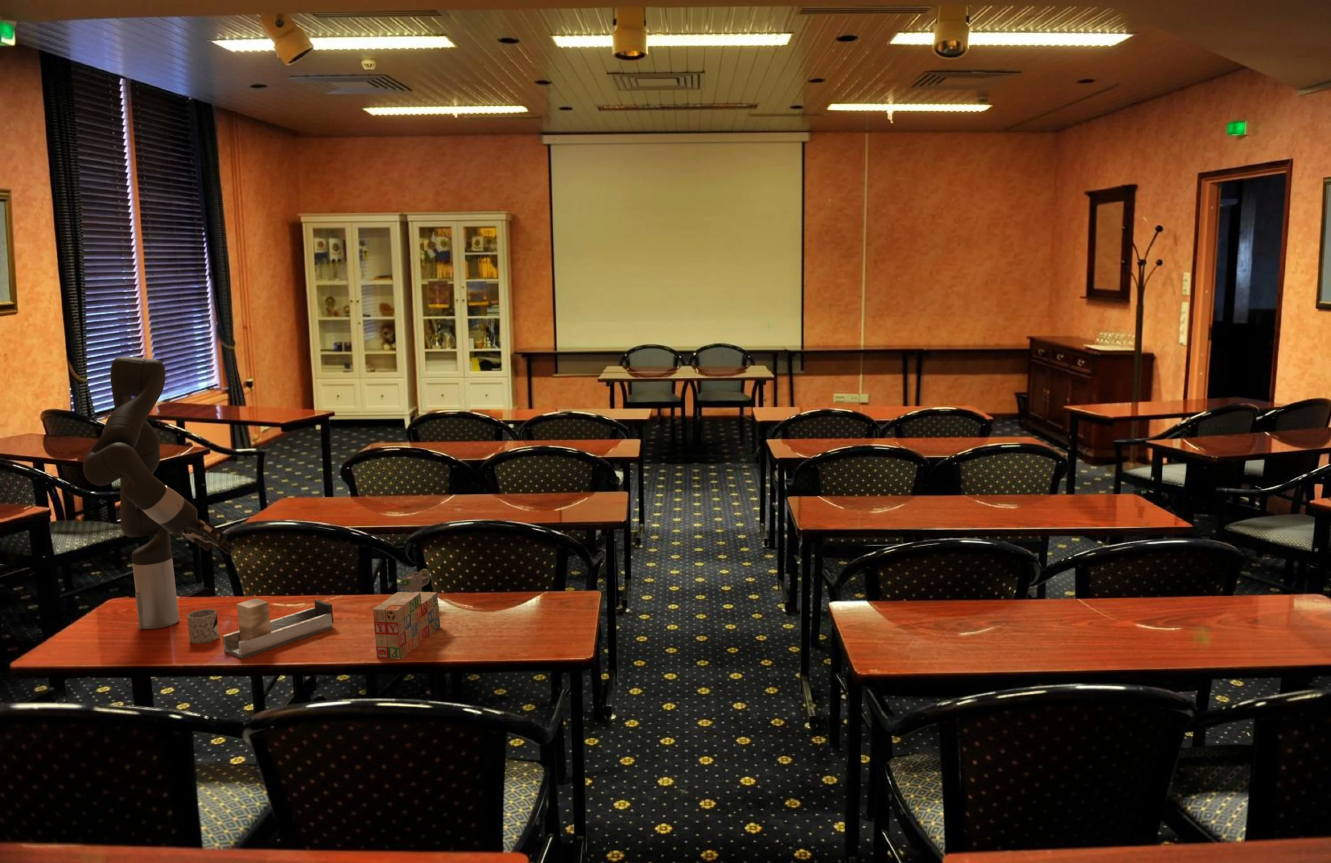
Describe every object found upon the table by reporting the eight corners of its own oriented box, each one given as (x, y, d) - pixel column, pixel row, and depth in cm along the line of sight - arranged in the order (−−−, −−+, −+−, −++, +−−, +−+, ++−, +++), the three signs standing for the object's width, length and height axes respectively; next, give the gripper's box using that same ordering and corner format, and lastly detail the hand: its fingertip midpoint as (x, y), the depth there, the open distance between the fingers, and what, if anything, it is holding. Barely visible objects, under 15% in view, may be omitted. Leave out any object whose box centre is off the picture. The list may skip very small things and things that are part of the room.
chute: (242, 659, 229) (239, 634, 228) (224, 651, 234) (221, 627, 233) (336, 627, 248) (334, 605, 247) (317, 621, 253) (315, 598, 252)
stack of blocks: (418, 626, 247) (414, 579, 246) (440, 627, 246) (437, 580, 244) (376, 658, 227) (372, 608, 225) (401, 660, 225) (397, 609, 224)
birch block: (252, 648, 232) (248, 608, 230) (240, 643, 235) (236, 603, 234) (272, 641, 236) (268, 602, 234) (260, 637, 239) (256, 598, 238)
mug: (222, 639, 242) (219, 613, 241) (193, 645, 238) (190, 620, 237) (212, 628, 250) (209, 603, 249) (184, 634, 246) (181, 609, 245)
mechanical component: (433, 603, 264) (431, 568, 262) (412, 616, 254) (409, 579, 253) (424, 602, 265) (421, 567, 263) (402, 615, 255) (399, 578, 254)
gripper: (197, 497, 214) (248, 538, 225) (161, 493, 222) (212, 533, 233) (176, 525, 210) (229, 566, 221) (140, 520, 218) (193, 559, 229)
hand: (220, 549), depth 227 cm, fingers open, 8 cm apart
